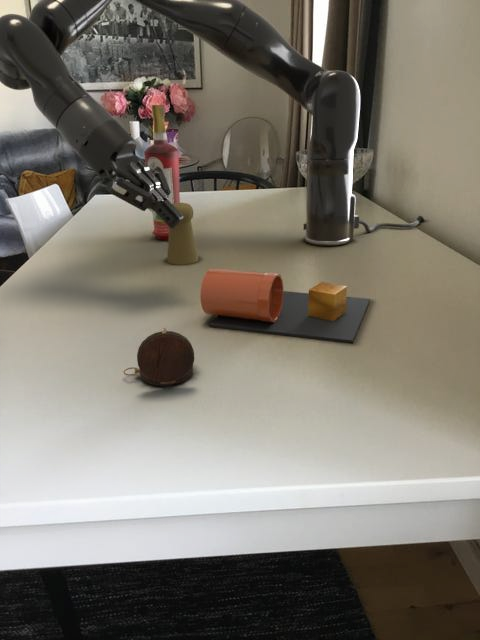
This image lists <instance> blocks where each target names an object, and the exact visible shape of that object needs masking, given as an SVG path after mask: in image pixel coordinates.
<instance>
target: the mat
mask: <svg viewBox="0 0 480 640" xmlns="http://www.w3.org/2000/svg"><path fill="white" fill-rule="evenodd" d="M370 302H371V299H370V298H364V297H354V296H346V312H345V313H344V314H343V315H341V316H340V317H339V318H337V319H336V320H335V321H330V320H325V319H321V318H316V317H311V316H308V306H309V292H298V291H286V290H284V291H283V303H282V308H281V312H280V315H279V317H278V319H277V321H275V322H274V323H273V322H265V321H258V320H249V319H241V318H232V317H224V316H216V317H215V318H214V319H213V320H211V322H210V323H208V326H209V327H210V328H218V329H224V330H225V329H227V330H236V331H242V332H243V331H244V332H253V333H260V334H261V333H262V334H268V335H277V336H278V335H280V336H287V337H295V338H305V339H312V340H313V339H314V340H320V341H321V340H322V341H329V342H330V341H331V342H340V343H347V344H353V343H354V341H355V339H356V336H357V334H358V331H359V329H360V326H361V325H362V321H363V320H364V317H365V314H366V312H367V309H368V307H369V304H370Z"/></svg>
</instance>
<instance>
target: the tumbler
mask: <svg viewBox="0 0 480 640" xmlns="http://www.w3.org/2000/svg"><path fill="white" fill-rule="evenodd" d="M283 291H285V290H284V280H283V277H282V275H281V274H279V273H276V272H261V271H249V270H239V269H238V270H236V269H226V268H209V269H208V270H207V271H206V272H205V274H204V276H203V278H202V281H201V285H200V305H201V309H202V311H203V313H204V314H206V315H208V316H216V317H217V316H224V317H232V318H241V319H249V320H258V321H265V322H273V323H274V322H275V321H277V319H278V317H279V315H280V312H281V308H282V303H283Z"/></svg>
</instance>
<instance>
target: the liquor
mask: <svg viewBox="0 0 480 640" xmlns="http://www.w3.org/2000/svg"><path fill="white" fill-rule="evenodd" d="M150 106H151V115H152V120H153V144H151V145H150V146H148V147H146V149H145V150H144V151H143V154H144V162H145V163H146V164H147V166H148V167H149V168H151V169H153V170H154V169H155V168H156V167H157V166H158V167H160V168H161V169H162V171H163V173H164V176H165V178H166V181H167V183H168V186H169V188H170V191H171V193H170V194H169V196H168V197H169V198H168V200H169V201H170V202H171V203H172V204H174V203H181V200H180V199H181V198H180V196H181V195H180V193H181V192H180V153H179V152H180V150H179V149H178V148H177V147H176V146H175V145H173V144H170V143H169V140H168V136H167V135H168V134H167V128H166V122H165V115H166V110H165V109H166V108H165V104H151V105H150ZM151 212H152V211H151ZM152 222H153V231H152V235H154V236H155V237H156V238H157V239H159V240H161V241H169V226H168V225H167V224H166V223H165V222H164V221H163V220H162V219H161V218H160V216H159V215H158V214H157V213H156V212H155V211H154V212H152Z"/></svg>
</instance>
